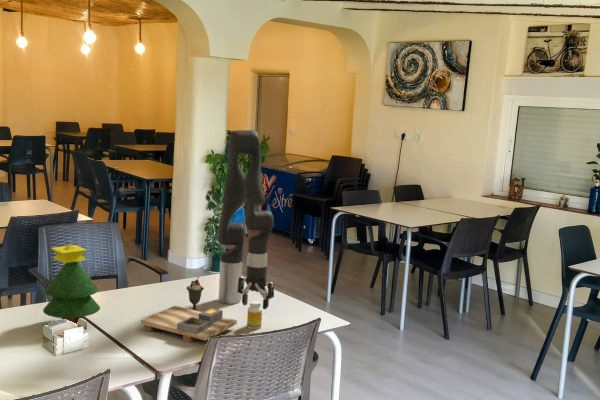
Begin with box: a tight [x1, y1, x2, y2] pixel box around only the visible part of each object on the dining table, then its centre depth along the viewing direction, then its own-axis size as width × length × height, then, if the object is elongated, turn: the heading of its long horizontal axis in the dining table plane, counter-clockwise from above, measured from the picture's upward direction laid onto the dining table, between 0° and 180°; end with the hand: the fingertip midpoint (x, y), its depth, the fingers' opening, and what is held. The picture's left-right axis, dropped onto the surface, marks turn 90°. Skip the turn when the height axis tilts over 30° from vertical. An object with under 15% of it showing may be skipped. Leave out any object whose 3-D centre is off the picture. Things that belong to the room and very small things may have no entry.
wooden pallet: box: [140, 305, 238, 343], centre depth 233 cm, size 20×28×4 cm
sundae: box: [186, 276, 205, 311], centre depth 250 cm, size 7×7×15 cm
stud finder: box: [199, 307, 223, 324], centre depth 233 cm, size 8×5×3 cm, turn 154°
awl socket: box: [177, 317, 211, 334], centre depth 225 cm, size 8×8×2 cm
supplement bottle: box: [246, 300, 263, 330], centre depth 239 cm, size 5×5×10 cm
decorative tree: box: [42, 243, 101, 324], centre depth 227 cm, size 19×19×30 cm
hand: (254, 306), depth 238 cm, fingers open, 8 cm apart
